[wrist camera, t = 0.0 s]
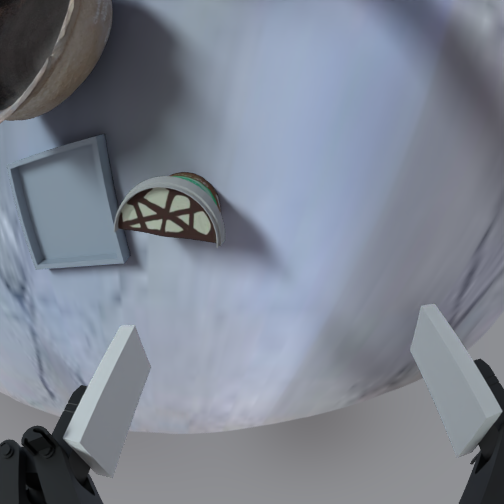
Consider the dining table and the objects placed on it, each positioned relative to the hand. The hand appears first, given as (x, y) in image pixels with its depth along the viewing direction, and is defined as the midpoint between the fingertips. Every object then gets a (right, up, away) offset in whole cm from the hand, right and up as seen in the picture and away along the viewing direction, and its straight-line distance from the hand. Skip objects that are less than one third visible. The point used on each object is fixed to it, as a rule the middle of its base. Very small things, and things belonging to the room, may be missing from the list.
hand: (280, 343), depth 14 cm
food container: (-9, +12, +26) cm, 30 cm away
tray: (-28, +11, +27) cm, 41 cm away
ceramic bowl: (-27, +33, +17) cm, 46 cm away
